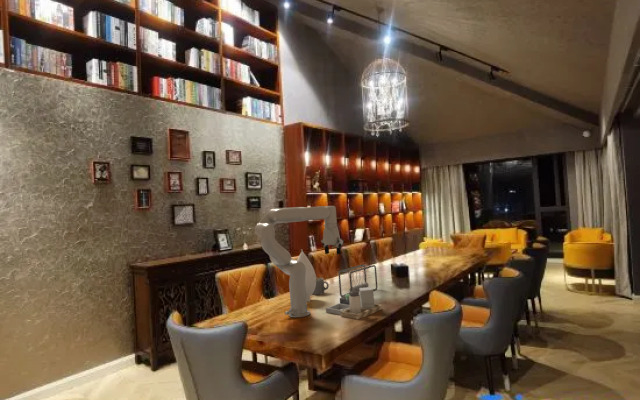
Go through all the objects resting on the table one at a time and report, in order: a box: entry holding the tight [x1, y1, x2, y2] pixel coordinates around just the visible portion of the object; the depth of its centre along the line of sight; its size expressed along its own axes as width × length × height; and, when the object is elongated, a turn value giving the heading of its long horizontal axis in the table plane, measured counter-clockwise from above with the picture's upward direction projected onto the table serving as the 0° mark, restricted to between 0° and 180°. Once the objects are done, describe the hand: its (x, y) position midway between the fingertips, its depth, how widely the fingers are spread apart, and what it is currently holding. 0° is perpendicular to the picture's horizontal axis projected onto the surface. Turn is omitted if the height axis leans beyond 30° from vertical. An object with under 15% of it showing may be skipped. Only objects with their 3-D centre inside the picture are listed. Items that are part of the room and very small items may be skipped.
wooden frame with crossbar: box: [340, 303, 383, 320], centre depth 230 cm, size 23×12×2 cm, turn 137°
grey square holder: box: [339, 296, 350, 305], centre depth 247 cm, size 8×8×5 cm
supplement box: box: [359, 286, 375, 309], centre depth 234 cm, size 7×7×13 cm
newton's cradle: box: [337, 263, 378, 298], centre depth 278 cm, size 30×10×18 cm, turn 138°
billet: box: [349, 290, 361, 314], centre depth 226 cm, size 6×6×13 cm
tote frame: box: [325, 302, 350, 316], centre depth 236 cm, size 12×12×2 cm
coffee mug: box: [311, 277, 330, 296], centre depth 288 cm, size 13×10×10 cm
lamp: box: [296, 250, 317, 302], centre depth 269 cm, size 16×16×35 cm
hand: (332, 253), depth 248 cm, fingers open, 9 cm apart
